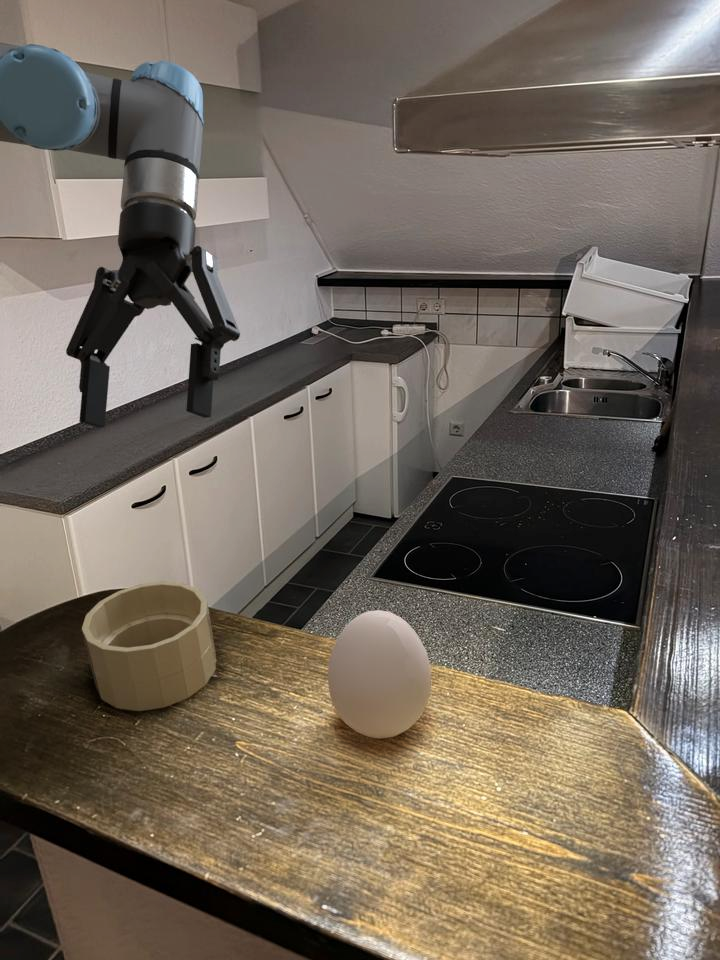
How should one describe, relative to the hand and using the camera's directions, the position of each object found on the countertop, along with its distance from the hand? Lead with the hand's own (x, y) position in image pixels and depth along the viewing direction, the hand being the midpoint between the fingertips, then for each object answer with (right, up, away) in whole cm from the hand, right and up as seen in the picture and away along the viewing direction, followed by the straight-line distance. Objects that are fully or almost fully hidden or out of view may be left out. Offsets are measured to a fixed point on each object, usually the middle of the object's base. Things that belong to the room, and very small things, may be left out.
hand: (143, 420), depth 75 cm
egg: (+23, -27, -9) cm, 37 cm away
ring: (+2, -25, -1) cm, 25 cm away
